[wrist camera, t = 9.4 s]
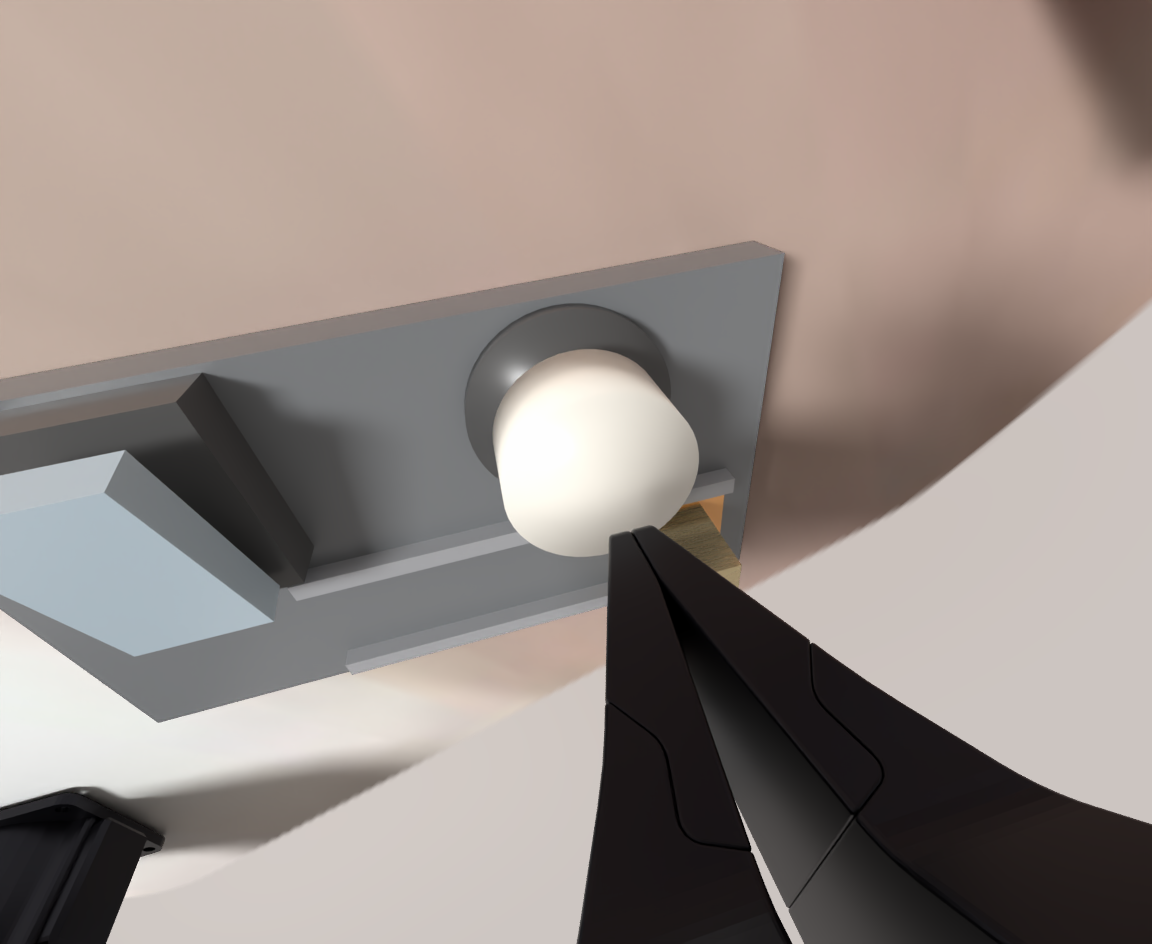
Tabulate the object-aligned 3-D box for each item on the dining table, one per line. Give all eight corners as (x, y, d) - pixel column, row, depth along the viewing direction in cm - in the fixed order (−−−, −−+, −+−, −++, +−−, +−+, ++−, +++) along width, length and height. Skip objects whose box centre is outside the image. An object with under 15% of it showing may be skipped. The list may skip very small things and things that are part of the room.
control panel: (176, 683, 18) (138, 765, 16) (-157, 408, 11) (-315, 487, 8) (720, 541, 21) (756, 594, 18) (754, 240, 13) (819, 266, 11)
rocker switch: (147, 617, 12) (134, 656, 12) (-78, 491, 8) (-117, 540, 8) (279, 586, 13) (274, 621, 12) (125, 450, 9) (104, 492, 8)
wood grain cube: (644, 565, 18) (676, 633, 16) (642, 514, 16) (677, 582, 14) (695, 552, 18) (733, 617, 16) (698, 501, 17) (741, 565, 14)
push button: (511, 515, 13) (522, 575, 12) (473, 370, 11) (481, 420, 9) (662, 479, 14) (694, 531, 12) (662, 332, 11) (704, 371, 9)
